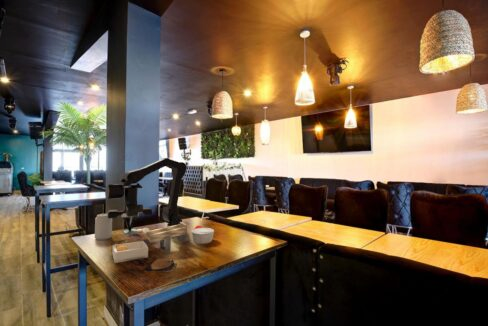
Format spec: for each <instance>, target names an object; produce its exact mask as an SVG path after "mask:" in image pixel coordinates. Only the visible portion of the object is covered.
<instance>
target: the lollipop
mask: <svg viewBox="0 0 488 326" xmlns="http://www.w3.org/2000/svg"><path fill="white" fill-rule="evenodd" d="M204 214H205V211H203V213H202V216H201V218H200V219H201V220H200V224H197V225H196V226H195V227H194V228H192V230H194V229H197V228H206V227H205V226H201V225H202V221H203V220H204V219H209V218H210V217H209V216H205V215H204ZM204 216H205V217H204Z"/></svg>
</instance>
